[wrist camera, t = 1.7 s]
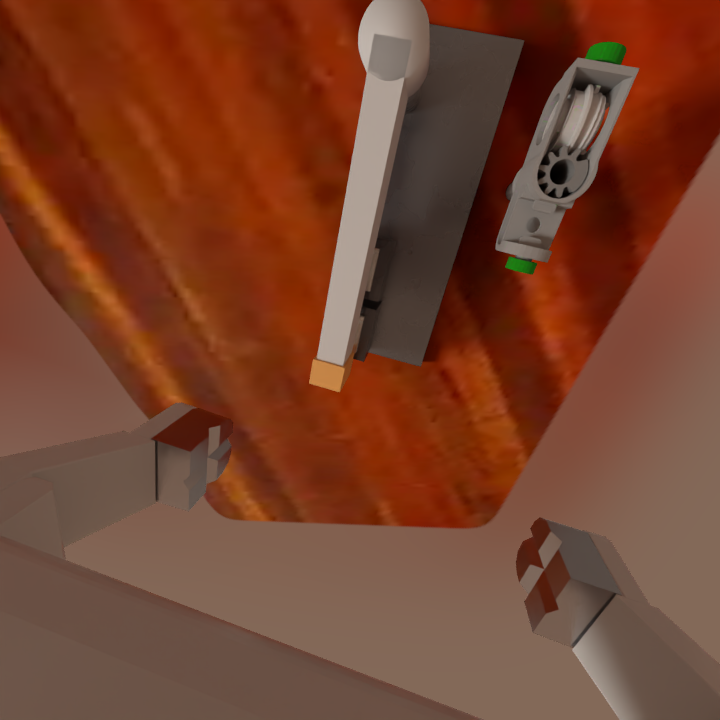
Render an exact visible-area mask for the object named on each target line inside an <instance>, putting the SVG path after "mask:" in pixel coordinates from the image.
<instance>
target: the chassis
mask: <svg viewBox="0 0 720 720" xmlns="http://www.w3.org/2000/svg"><path fill="white" fill-rule="evenodd" d="M429 35H430V60H429V68H428V72H427V75H426V78H425V80H424V82H423V84H422V85H421V87H420V88H419V89H418V90H417V91H416V92H415V93H414V94H413V95H412V96H410V97H409V98H408V100H407V105H406V109H405V114H404V118H403V123H402V127H401V132H400V136H399V141H398V146H397V150H396V155H395V159H394V164H393V168H392V173H391V177H390V182H389V186H388V191H387V195H386V200H385V204H384V209H383V213H382V218H381V222H380V227H379V231H378V236H380V237H385V238H389V239H393V240H397V242H396V246H395V250H394V254H393V258H392V262H391V266H390V270H389V275H388V279H387V283H386V287H385V291H384V295H383V296H382V297H381V299H380V300H379V301H380V302H382V303H381V307H380V311H379V315H378V320H377V324H376V328H375V332H374V336H373V340H372V344H371V348H370V350H369V352H370V353H373V354H377V355H381V356H384V357H388V358H391V359H395V360H399V361H402V362H406V363H410V364H413V365H417V366H420V367H421V364H422V361H423V358H424V354H425V351H426V348H427V345H428V342H429V339H430V336H431V332H432V329H433V326H434V323H435V320H436V317H437V314H438V310H439V307H440V304H441V301H442V298H443V295H444V292H445V288H446V285H447V282H448V279H449V276H450V273H451V270H452V266H453V263H454V260H455V257H456V254H457V251H458V248H459V244H460V241H461V238H462V235H463V232H464V229H465V226H466V222H467V219H468V216H469V213H470V210H471V207H472V204H473V200H474V197H475V194H476V191H477V188H478V185H479V182H480V178H481V175H482V172H483V169H484V166H485V163H486V160H487V156H488V153H489V150H490V147H491V144H492V141H493V138H494V134H495V131H496V128H497V125H498V122H499V119H500V116H501V112H502V109H503V106H504V103H505V100H506V97H507V94H508V90H509V87H510V84H511V81H512V78H513V75H514V72H515V68H516V65H517V62H518V59H519V56H520V53H521V50H522V46H523V43H524V40H519V39H513V38H507V37H501V36H496V35H490V34H484V33H478V32H473V31H467V30H461V29H455V28H449V27H444V26H438V25H432V24H429Z"/></svg>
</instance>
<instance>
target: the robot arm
mask: <svg viewBox="0 0 720 720" xmlns="http://www.w3.org/2000/svg"><path fill="white" fill-rule="evenodd" d="M232 433H233V421H232V420H231V419H229V418H226V417H223V416H220V415H217V414H214V413H211V412H209V411H206V410H203V409H200V408H196V407H193V406H190V405H187V404H184V403H175V404H174V405H172V406H171V407H169V408H167V409H166V410H164V411H163V412H161V413H160V414H158V415H157V416H155V417H153V418H152V419H150V420H149V421H147V422H146V423H144V424H142V425H141V426H140V427H138V428H136V429H135V430H133V431H132V432H130V433H129V432H126V431H122V432H117V433H112V434H107V435H102V436H98V437H93V438H89V439H84V440H79V441H74V442H70V443H65V444H60V445H55V446H51V447H46V448H41V449H37V450H32V451H27V452H23V453H18V454H13V455H9V456H4V457H0V720H483V719H481V718H478V717H475V716H473V715H470V714H468V713H465V712H462V711H459V710H457V709H454V708H452V707H449V706H447V705H444V704H441V703H439V702H436V701H433V700H431V699H428V698H425V697H423V696H420V695H417V694H415V693H412V692H410V691H407V690H404V689H402V688H399V687H397V686H394V685H391V684H389V683H386V682H384V681H381V680H378V679H376V678H373V677H370V676H368V675H365V674H363V673H360V672H357V671H355V670H352V669H349V668H347V667H344V666H342V665H339V664H336V663H334V662H331V661H328V660H326V659H323V658H321V657H318V656H315V655H312V654H310V653H308V652H305V651H302V650H300V649H297V648H294V647H292V646H289V645H287V644H284V643H281V642H279V641H276V640H273V639H271V638H268V637H266V636H263V635H260V634H258V633H255V632H252V631H250V630H247V629H245V628H242V627H239V626H237V625H234V624H231V623H229V622H226V621H224V620H221V619H219V618H216V617H213V616H211V615H208V614H205V613H203V612H200V611H198V610H195V609H192V608H190V607H187V606H184V605H182V604H179V603H177V602H174V601H171V600H169V599H166V598H164V597H161V596H158V595H156V594H153V593H151V592H148V591H145V590H142V589H140V588H137V587H135V586H132V585H129V584H127V583H124V582H122V581H119V580H117V579H114V578H111V577H109V576H106V575H103V574H101V573H98V572H96V571H93V570H90V569H88V568H85V567H83V566H80V565H77V564H74V563H72V562H69V561H67V560H66V557H65V551H64V547H66V546H68V545H70V544H72V543H74V542H76V541H78V540H80V539H82V538H85V537H86V536H89V535H91V534H93V533H95V532H97V531H99V530H101V529H103V528H105V527H107V526H110V525H112V524H114V523H116V522H118V521H120V520H122V519H124V518H126V517H128V516H130V515H133V514H134V513H137V512H139V511H141V510H143V509H145V508H147V507H149V506H151V505H153V504H155V503H156V502H160V503H163V504H166V505H169V506H172V507H175V508H179V509H182V510H185V511H189V510H190V509H191V508H192V507H193V506H194V505H195V503H196V502H197V501H198V500H199V499H200V498H201V497H202V496H203V495H204V493H205V492H206V484H207V483H210V482H213V481H215V480H217V479H218V477H219V476H220V475H221V474H222V473H223V471H224V469H225V467H226V465H227V463H228V461H229V458H230V454H231V444H230V443H229V441H228V439H227V438H228V437H229V436H230V435H231V434H232ZM531 531H532V535H533V537H532V538H529V539H527V540H525V541H523V542H522V544H521V546H520V548H519V550H518V554H517V560H516V568H517V575H518V579H519V583H520V584H521V585H522V587H523V588H524V589H525V590H526V592H527V593H528V596H527V598H526V600H525V601H524V602H525V606H526V609H527V613H528V617H529V620H530V624H531V627H532V631H533V633H535V634H538V635H540V636H543V637H546V638H548V639H551V640H554V641H556V642H559V643H561V644H564V645H567V646H569V647H572V648H573V649H572V650H573V652H574V653H575V655H576V656H577V658H578V659H579V661H580V662H581V663H582V665H583V667H584V668H585V669H586V671H587V672H588V674H589V675H590V677H591V678H592V680H593V681H594V683H595V684H596V686H597V687H598V689H599V690H600V692H601V693H602V694H603V696H604V697H605V699H606V700H607V702H608V703H609V705H610V706H611V708H612V709H613V711H614V712H615V714H616V715H617V716H618V718H619V719H620V720H720V664H719V663H718V662H717V661H716V660H715V659H713V658H712V657H711V656H710V655H709V654H708V653H707V652H706V651H705V650H704V649H702V648H701V647H700V646H699V645H698V644H697V643H696V642H695V641H694V640H692V639H691V638H690V637H689V636H688V635H687V634H686V633H685V632H684V631H683V630H682V629H680V628H679V627H678V626H677V625H676V624H675V623H674V622H673V621H672V620H670V619H669V618H668V617H667V616H666V615H665V614H664V613H663V612H662V611H661V610H660V609H658V608H656V607H653V606H650V604H649V603H648V601H647V599H646V598H645V596H644V594H643V593H642V591H641V589H640V588H639V586H638V585H637V583H636V581H635V580H634V578H633V576H632V575H631V573H630V571H629V570H628V568H627V566H626V565H625V563H624V562H623V560H622V558H621V557H620V555H619V553H618V552H617V550H616V549H615V547H614V545H613V544H612V542H611V541H610V540H609V539H607V538H606V537H604V536H601V535H597V534H594V533H591V532H587V531H584V530H582V531H581V530H578V529H575V528H572V527H569V526H566V525H563V524H559V523H556V522H553V521H550V520H546V519H543V518H539V519H537V520H536V521H535V522H534V524H533V525H532V527H531Z"/></svg>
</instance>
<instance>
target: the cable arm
mask: <svg viewBox="0 0 720 720" xmlns="http://www.w3.org/2000/svg"><path fill="white" fill-rule="evenodd" d="M358 45H359V52H360V56H361V59H362V62H363V64H364V67H365V69H366V72H367V76H366V82H365V88H364V93H363V99H362V105H361V110H360V116H359V122H358V128H357V133H356V139H355V145H354V150H353V156H352V162H351V167H350V173H349V179H348V184H347V190H346V196H345V201H344V207H343V213H342V218H341V224H340V230H339V235H338V241H337V247H336V252H335V258H334V264H333V269H332V275H331V281H330V286H329V292H328V298H327V303H326V309H325V315H324V321H323V326H322V332H321V338H320V343H319V349H318V355H317V356H316V357H315V358H314V359H313V364H312V369H311V375H310V381H309V383H310V384H313V385H317V386H320V387H324V388H327V389H330V390H334V391H337V392H340V391H341V389H342V387H343V385H344V383H345V382H346V380H347V378H348V376H349V374H350V371H351V366H352V362H353V357H354V353H355V352H352V349H353V345H354V340H355V336H356V331H357V326H358V322H359V317H360V313H361V308H362V304H363V299H364V295H365V290H366V286H367V281H368V277H369V272H370V268H371V263H372V259H373V254H374V250H375V245H376V241H377V236H378V231H379V227H380V222H381V218H382V213H383V209H384V204H385V200H386V195H387V191H388V186H389V182H390V177H391V173H392V168H393V164H394V159H395V155H396V150H397V146H398V141H399V136H400V132H401V127H402V123H403V118H404V114H405V109H406V105H407V100H408V98H409V97H410V96H412V95H413V94H414V93H415V92H416V91H417V90H418V89H419V88H420V87H421V85H422V84H423V82H424V80H425V78H426V75H427V72H428V68H429V60H430V35H429V19H428V15H427V12H426V9H425V7H424V5H423V3H422V2H421V1H420V0H374V1H373V2H372V3H371V4H370V5H369V7H368V8H367V10H366V12H365V13H364V16H363V18H362V21H361V24H360V28H359V35H358Z"/></svg>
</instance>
